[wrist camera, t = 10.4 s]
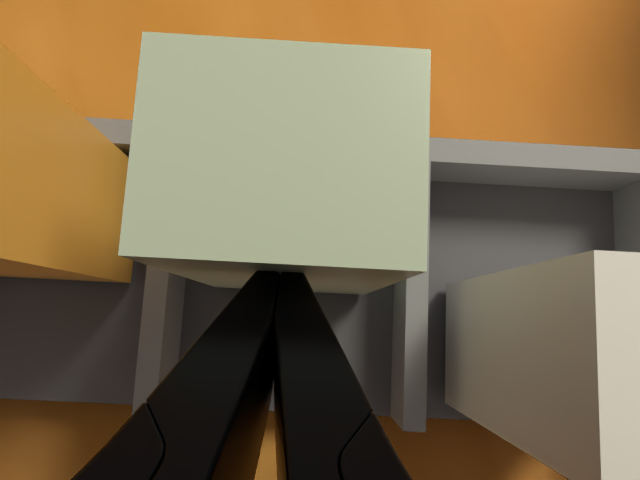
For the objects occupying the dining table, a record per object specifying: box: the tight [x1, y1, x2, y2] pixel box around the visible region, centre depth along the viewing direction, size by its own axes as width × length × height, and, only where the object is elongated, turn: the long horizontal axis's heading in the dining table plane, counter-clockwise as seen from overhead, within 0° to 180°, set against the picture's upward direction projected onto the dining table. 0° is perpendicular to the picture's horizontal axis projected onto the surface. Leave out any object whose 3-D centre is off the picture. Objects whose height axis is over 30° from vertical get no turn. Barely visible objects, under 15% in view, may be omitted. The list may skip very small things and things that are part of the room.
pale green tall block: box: [118, 32, 431, 295], centre depth 12 cm, size 4×4×8 cm
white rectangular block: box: [445, 250, 640, 480], centre depth 11 cm, size 4×4×8 cm
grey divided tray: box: [0, 117, 640, 432], centre depth 15 cm, size 8×23×3 cm, turn 87°
